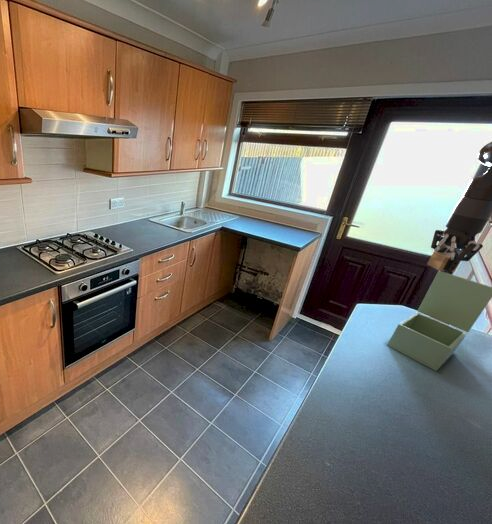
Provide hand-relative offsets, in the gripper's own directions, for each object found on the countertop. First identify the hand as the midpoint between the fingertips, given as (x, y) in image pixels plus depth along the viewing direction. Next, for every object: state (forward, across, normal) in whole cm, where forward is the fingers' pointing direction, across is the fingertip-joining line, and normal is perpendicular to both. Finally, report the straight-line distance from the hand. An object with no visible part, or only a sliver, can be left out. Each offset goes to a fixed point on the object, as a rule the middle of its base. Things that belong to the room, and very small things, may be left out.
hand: (440, 267), depth 88 cm
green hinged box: (+27, -7, -1) cm, 28 cm away
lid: (+10, -3, -6) cm, 12 cm away
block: (0, 0, 0) cm, 0 cm away
